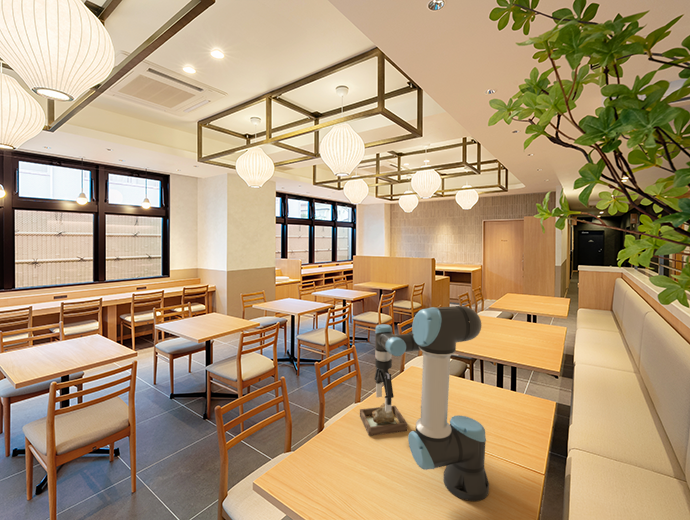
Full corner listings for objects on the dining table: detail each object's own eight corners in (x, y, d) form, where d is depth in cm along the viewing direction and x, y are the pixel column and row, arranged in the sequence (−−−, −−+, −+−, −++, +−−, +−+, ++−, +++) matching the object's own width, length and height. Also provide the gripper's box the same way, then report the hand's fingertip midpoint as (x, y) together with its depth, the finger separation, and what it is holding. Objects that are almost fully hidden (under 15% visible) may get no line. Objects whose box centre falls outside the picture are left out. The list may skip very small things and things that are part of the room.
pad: (400, 428, 152) (400, 427, 152) (372, 431, 149) (372, 431, 149) (391, 415, 162) (391, 414, 162) (366, 418, 160) (366, 417, 160)
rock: (395, 430, 150) (395, 409, 149) (372, 429, 150) (372, 408, 149) (392, 415, 162) (393, 395, 161) (371, 415, 162) (371, 395, 161)
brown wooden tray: (407, 431, 150) (407, 423, 150) (368, 435, 146) (368, 428, 146) (395, 412, 165) (395, 405, 165) (359, 416, 162) (359, 409, 161)
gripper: (401, 368, 142) (401, 416, 143) (382, 349, 166) (382, 390, 167) (384, 369, 140) (384, 418, 142) (368, 350, 165) (368, 392, 166)
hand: (383, 403), depth 154 cm, fingers open, 13 cm apart
